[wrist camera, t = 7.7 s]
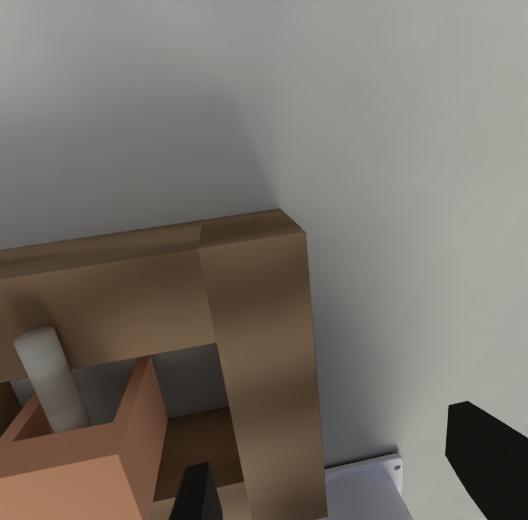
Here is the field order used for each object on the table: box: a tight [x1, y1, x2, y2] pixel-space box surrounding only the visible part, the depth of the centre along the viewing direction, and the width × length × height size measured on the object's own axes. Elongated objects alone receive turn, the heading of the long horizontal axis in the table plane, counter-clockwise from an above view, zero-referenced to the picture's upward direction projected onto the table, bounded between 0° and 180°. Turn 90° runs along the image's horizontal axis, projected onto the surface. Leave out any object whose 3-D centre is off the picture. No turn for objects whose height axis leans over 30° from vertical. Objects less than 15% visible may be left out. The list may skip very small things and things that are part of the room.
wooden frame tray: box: [0, 209, 328, 520], centre depth 15 cm, size 16×20×6 cm
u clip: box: [0, 355, 168, 520], centre depth 14 cm, size 4×5×6 cm
